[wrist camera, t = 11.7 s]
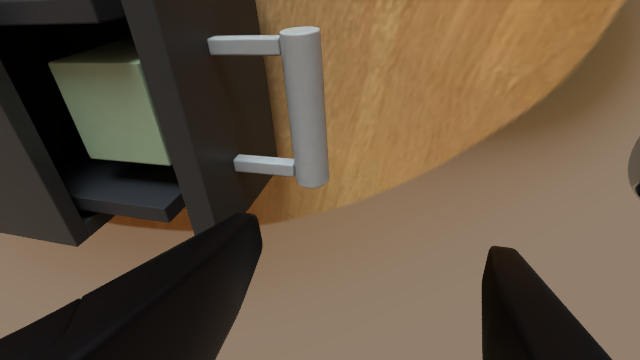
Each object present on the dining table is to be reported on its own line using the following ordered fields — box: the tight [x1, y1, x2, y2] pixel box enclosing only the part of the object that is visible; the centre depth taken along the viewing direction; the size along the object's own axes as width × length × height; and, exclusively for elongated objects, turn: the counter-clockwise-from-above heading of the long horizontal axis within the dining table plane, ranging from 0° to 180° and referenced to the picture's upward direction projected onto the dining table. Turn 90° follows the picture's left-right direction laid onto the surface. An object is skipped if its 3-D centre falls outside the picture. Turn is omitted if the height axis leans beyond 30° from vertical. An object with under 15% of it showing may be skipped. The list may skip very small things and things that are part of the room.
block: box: [48, 39, 172, 166], centre depth 17 cm, size 4×4×4 cm
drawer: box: [0, 0, 329, 235], centre depth 17 cm, size 17×10×7 cm, turn 94°
